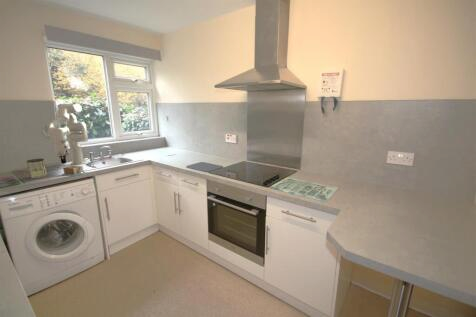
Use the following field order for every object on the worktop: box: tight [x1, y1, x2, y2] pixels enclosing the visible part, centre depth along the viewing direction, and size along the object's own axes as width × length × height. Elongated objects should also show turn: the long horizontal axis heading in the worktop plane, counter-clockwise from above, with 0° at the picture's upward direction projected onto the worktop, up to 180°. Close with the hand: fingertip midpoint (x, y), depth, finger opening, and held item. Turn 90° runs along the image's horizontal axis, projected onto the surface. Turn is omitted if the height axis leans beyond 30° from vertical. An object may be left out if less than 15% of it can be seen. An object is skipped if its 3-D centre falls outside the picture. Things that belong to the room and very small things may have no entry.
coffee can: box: [26, 158, 48, 179], centre depth 179 cm, size 10×10×14 cm
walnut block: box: [62, 165, 85, 174], centre depth 188 cm, size 8×5×12 cm
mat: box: [61, 172, 85, 177], centre depth 188 cm, size 14×14×1 cm
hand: (64, 163), depth 189 cm, fingers closed
